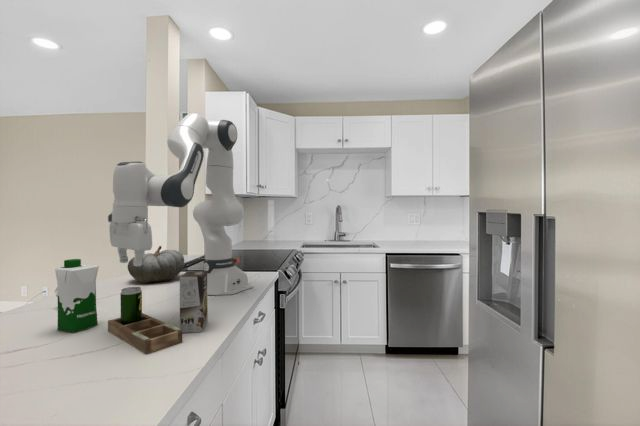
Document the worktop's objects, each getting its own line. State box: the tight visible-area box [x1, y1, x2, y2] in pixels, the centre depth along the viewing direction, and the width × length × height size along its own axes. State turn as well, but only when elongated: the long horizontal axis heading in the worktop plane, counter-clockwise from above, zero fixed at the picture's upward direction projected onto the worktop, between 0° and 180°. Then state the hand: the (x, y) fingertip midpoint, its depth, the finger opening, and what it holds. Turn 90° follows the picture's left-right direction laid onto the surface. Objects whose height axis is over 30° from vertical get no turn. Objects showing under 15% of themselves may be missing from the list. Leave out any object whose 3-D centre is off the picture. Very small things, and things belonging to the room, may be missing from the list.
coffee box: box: [179, 270, 209, 334], centre depth 97 cm, size 9×6×16 cm
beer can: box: [120, 286, 143, 325], centre depth 95 cm, size 5×5×12 cm
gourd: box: [127, 245, 185, 284], centre depth 161 cm, size 25×25×17 cm
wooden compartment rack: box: [107, 312, 183, 355], centre depth 90 cm, size 9×24×3 cm, turn 52°
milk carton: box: [54, 258, 100, 334], centre depth 97 cm, size 9×9×20 cm
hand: (130, 264), depth 94 cm, fingers open, 8 cm apart
